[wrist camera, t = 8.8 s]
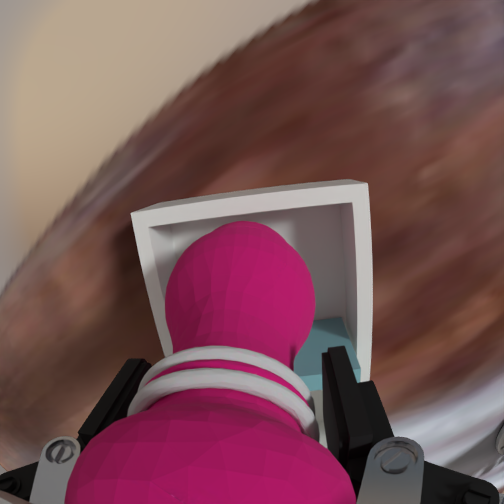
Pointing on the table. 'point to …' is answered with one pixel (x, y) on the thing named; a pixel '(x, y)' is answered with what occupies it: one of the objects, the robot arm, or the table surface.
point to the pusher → (317, 343)
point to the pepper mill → (222, 390)
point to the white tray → (294, 232)
